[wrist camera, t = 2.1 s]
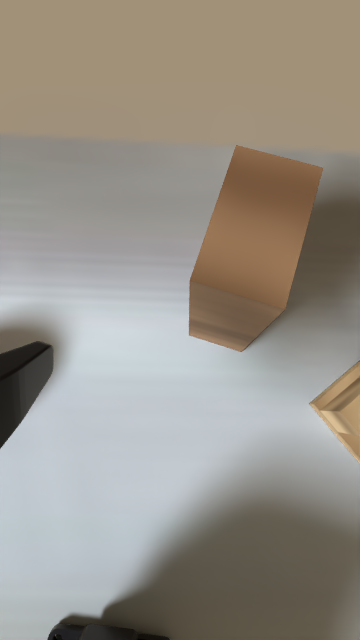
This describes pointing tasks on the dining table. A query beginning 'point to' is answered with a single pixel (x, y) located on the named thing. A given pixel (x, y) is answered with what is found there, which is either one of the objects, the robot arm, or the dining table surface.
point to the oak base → (343, 409)
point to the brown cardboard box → (251, 247)
